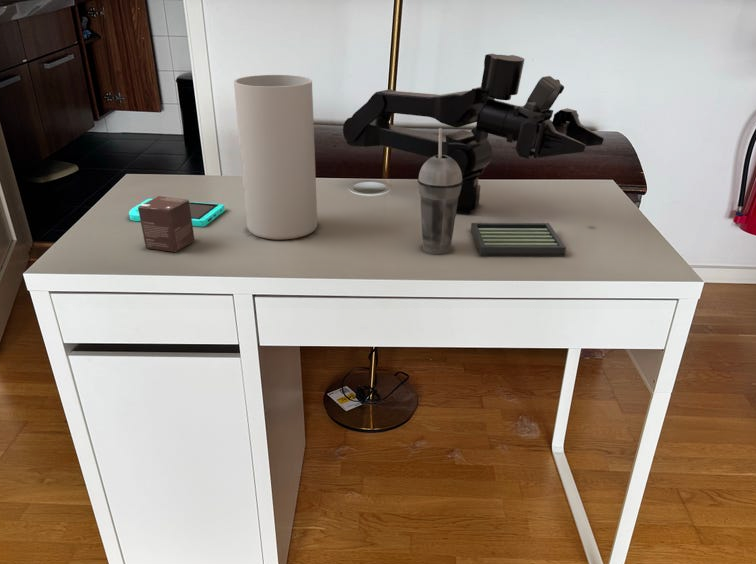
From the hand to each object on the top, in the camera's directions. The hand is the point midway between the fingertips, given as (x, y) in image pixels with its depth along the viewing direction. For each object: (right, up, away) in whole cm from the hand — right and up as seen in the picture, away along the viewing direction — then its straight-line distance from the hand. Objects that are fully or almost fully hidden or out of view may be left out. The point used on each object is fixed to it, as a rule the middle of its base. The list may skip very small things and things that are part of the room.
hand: (594, 144), depth 115 cm
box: (-71, -17, +2) cm, 73 cm away
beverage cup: (-26, -17, +1) cm, 32 cm away
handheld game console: (-74, -9, +15) cm, 76 cm away
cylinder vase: (-53, -12, +9) cm, 56 cm away
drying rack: (-12, -16, +4) cm, 20 cm away
